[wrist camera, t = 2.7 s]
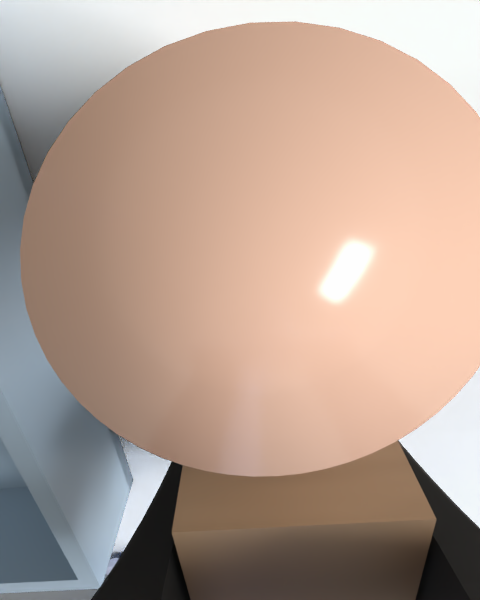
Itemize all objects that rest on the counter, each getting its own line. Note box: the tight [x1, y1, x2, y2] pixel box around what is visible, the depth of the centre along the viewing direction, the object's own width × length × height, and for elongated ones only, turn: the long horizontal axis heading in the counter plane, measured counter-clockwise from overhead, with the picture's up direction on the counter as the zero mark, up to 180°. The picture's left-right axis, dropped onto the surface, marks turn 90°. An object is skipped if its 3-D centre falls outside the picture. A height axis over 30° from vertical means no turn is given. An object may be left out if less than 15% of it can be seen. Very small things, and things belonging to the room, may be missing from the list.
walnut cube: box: [172, 440, 436, 600], centre depth 10 cm, size 5×5×5 cm
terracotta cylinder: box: [20, 22, 480, 477], centre depth 7 cm, size 5×5×7 cm
